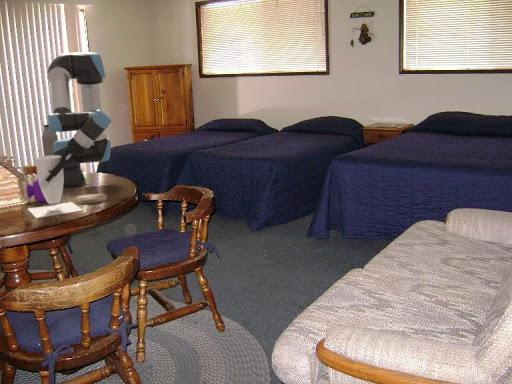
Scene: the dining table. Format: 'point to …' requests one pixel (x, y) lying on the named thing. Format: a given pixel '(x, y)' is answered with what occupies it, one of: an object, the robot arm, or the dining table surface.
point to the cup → (56, 185)
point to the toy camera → (35, 191)
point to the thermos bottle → (48, 141)
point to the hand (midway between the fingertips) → (43, 184)
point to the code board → (54, 210)
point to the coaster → (91, 198)
